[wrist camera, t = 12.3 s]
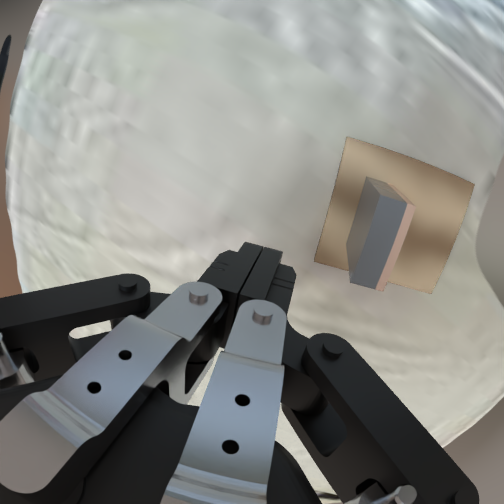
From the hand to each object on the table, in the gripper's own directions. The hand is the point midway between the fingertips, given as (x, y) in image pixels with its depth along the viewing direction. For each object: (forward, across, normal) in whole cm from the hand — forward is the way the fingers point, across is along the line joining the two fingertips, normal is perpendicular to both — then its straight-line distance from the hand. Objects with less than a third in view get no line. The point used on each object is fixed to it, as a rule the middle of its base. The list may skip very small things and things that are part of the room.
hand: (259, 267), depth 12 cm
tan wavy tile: (+14, -9, 0) cm, 17 cm away
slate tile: (+13, -6, 0) cm, 15 cm away
